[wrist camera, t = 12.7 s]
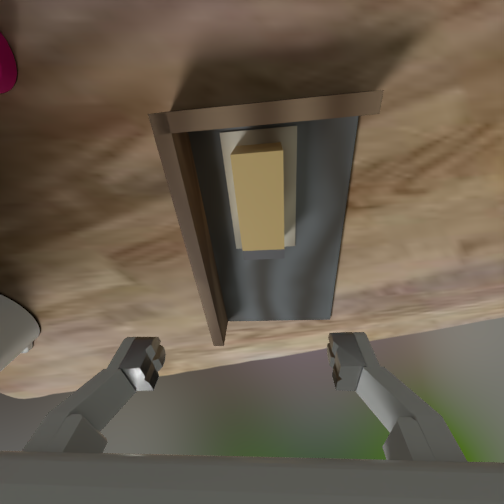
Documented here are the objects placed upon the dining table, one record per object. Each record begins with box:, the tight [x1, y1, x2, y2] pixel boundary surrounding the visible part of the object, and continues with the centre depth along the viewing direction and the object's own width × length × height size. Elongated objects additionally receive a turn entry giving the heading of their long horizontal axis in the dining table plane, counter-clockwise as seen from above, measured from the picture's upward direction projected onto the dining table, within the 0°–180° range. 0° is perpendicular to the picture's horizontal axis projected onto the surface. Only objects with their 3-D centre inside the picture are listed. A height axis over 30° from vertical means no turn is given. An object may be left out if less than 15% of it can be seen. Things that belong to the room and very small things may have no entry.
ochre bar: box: [230, 142, 285, 260], centre depth 24 cm, size 11×4×4 cm, turn 5°
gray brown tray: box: [148, 90, 384, 346], centre depth 28 cm, size 18×30×5 cm, turn 5°
